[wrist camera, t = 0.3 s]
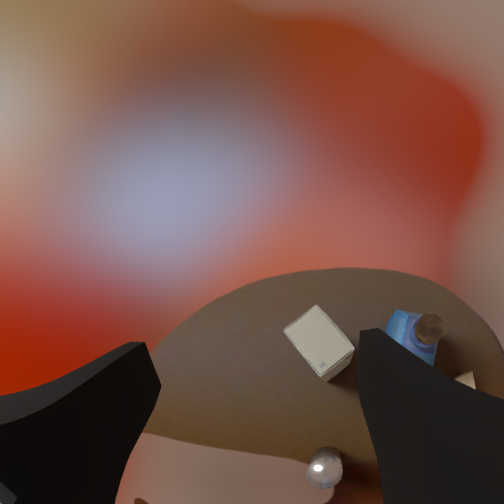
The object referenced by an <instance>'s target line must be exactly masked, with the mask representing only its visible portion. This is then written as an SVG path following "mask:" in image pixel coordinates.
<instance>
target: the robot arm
mask: <svg viewBox="0 0 504 504" xmlns="http://www.w3.org/2000/svg"><path fill="white" fill-rule="evenodd" d="M356 380H357V386H358V392H359V397H360V402H361V407H362V410H363V413H364V416H365V419H366V423H367V426H368V429H369V432H370V436H371V439H372V442H373V446H374V449H375V453H376V456H377V460H378V464H379V469H380V476H381V484H382V492H383V504H504V399H501V398H498V397H495V396H492V395H489V394H486V393H484V392H481V391H479V390H476V389H474V388H472V387H470V386H468V385H466V384H463V383H461V382H459V381H457V380H455V379H453V378H452V377H450V376H448V375H446V374H444V373H443V372H441V371H439V370H438V369H436V368H434V367H433V366H431V365H430V364H428V363H427V362H425V361H424V360H422V359H421V358H419V357H418V356H416V355H415V354H413V353H412V352H411V351H409V350H408V349H406V348H405V347H404V346H402V345H401V344H400V343H398V342H397V341H395V340H394V339H393V338H391V337H390V336H389V335H387V334H386V333H385V332H383V331H382V330H380V329H379V328H376V329H370V330H363V331H360V340H359V355H358V368H357V378H356ZM161 386H162V385H161V383H160V380H159V378H158V375H157V373H156V371H155V368H154V365H153V363H152V360H151V358H150V355H149V352H148V350H147V347H146V344H145V342H129V343H126V344H124V345H122V346H120V347H118V348H116V349H114V350H112V351H110V352H108V353H106V354H105V355H103V356H101V357H99V358H97V359H95V360H93V361H92V362H90V363H88V364H86V365H84V366H82V367H80V368H78V369H76V370H74V371H72V372H70V373H68V374H66V375H64V376H62V377H60V378H58V379H56V380H53V381H51V382H49V383H46V384H43V385H40V386H38V387H35V388H32V389H29V390H25V391H21V392H17V393H13V394H8V395H3V396H0V504H115V499H116V495H117V492H118V488H119V485H120V481H121V478H122V475H123V472H124V469H125V466H126V463H127V461H128V458H129V456H130V454H131V452H132V450H133V448H134V446H135V444H136V442H137V440H138V438H139V436H140V435H141V433H142V431H143V429H144V427H145V425H146V423H147V421H148V419H149V417H150V415H151V413H152V411H153V409H154V407H155V404H156V401H157V399H158V396H159V392H160V389H161Z"/></svg>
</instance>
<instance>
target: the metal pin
mask: <svg viewBox="0 0 504 504" xmlns="http://www.w3.org/2000/svg"><path fill="white" fill-rule="evenodd" d="M342 474H343V470H342V456H341V453H340V452H339V451H338V450H337V449H336V448H333V447H323V448H321V449H319V450H317V451H316V452H315V453H314V455H313V457H312V459H311V462H310V465H309V467H308V470H307V473H306V478H307V481H308V482H309V484H311V485H312V486H314V487H316V488H322V489H325V488H330V487H332V486H334V485H336V484H337V483H338V482H339V481H340V479H341V477H342Z"/></svg>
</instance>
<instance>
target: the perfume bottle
mask: <svg viewBox="0 0 504 504" xmlns="http://www.w3.org/2000/svg"><path fill="white" fill-rule="evenodd" d="M443 332H444V325H443V321H442V320H441V318H440V317H439V316H438V315H437V314H434V313H426V314H424V315H421V314H416V313H411V312H405V311H400V310H396V311H395V313H394V314H393V315H392V317H391V318H390V320H389V321H388V324H387V328H386V334H387V335H389V336H390V337H391V338H393V339H394V340H395V341H397V342H398V343H400V344H401V345H402V346H404V347H405V348H406V349H408V350H409V351H411V352H412V353H413V354H415V355H416V356H418V357H419V358H421V359H422V360H424V361H425V362H427V363H428V364H430V365H431V366H433V365H434V360H435V355H436V350H437V344H438V341H439V340H440V338H441V337H442V335H443Z"/></svg>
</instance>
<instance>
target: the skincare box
mask: <svg viewBox="0 0 504 504" xmlns="http://www.w3.org/2000/svg"><path fill="white" fill-rule="evenodd" d="M284 333H285V334H286V335H287V336H288V338H289V339H290V340H291V342H292V343H293V344H294V346H295V347H296V348H297V349H298V351H299V352H300V353H301V354H302V356H303V357H304V358H305V359H306V361H307V362H308V363H309V364H310V366H311V367H312V368H313V369H314V370H315V372H316V373H317V374H318V375H319V377H321V378H322V379H323V380H324V381H326V382H327V381H329V380H330V379H332V378H333V377H334V376H336V375H337V374H338V373H339V372H341V371H342V370H343V369H344V368H345V367H347V366H348V365H349V364H350V362H351V359H352V356H353V352H354V346H353V345H352V344H351V342H350V341H349V340H348V339H347V337H346V336H345V335H344V334H343V333H342V331H341V330H340V329H339V328H338V327H337V326H336V325H335V324H334V322H333V321H332V320H331V319H330V318H329V317H328V316H327V315H326V314H325V313H324V312H323V311H322V310H321V309H320V308H319V306H318V305H315V306H314V307H313V308H311V309H310V310H308V311H307V312H306V313H304V314H303V315H302V316H300V317H299V318H298V319H296V320H295V321H294V322H292V323H291V324H290V325H288V326H287V327H286V328H285V329H284Z"/></svg>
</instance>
